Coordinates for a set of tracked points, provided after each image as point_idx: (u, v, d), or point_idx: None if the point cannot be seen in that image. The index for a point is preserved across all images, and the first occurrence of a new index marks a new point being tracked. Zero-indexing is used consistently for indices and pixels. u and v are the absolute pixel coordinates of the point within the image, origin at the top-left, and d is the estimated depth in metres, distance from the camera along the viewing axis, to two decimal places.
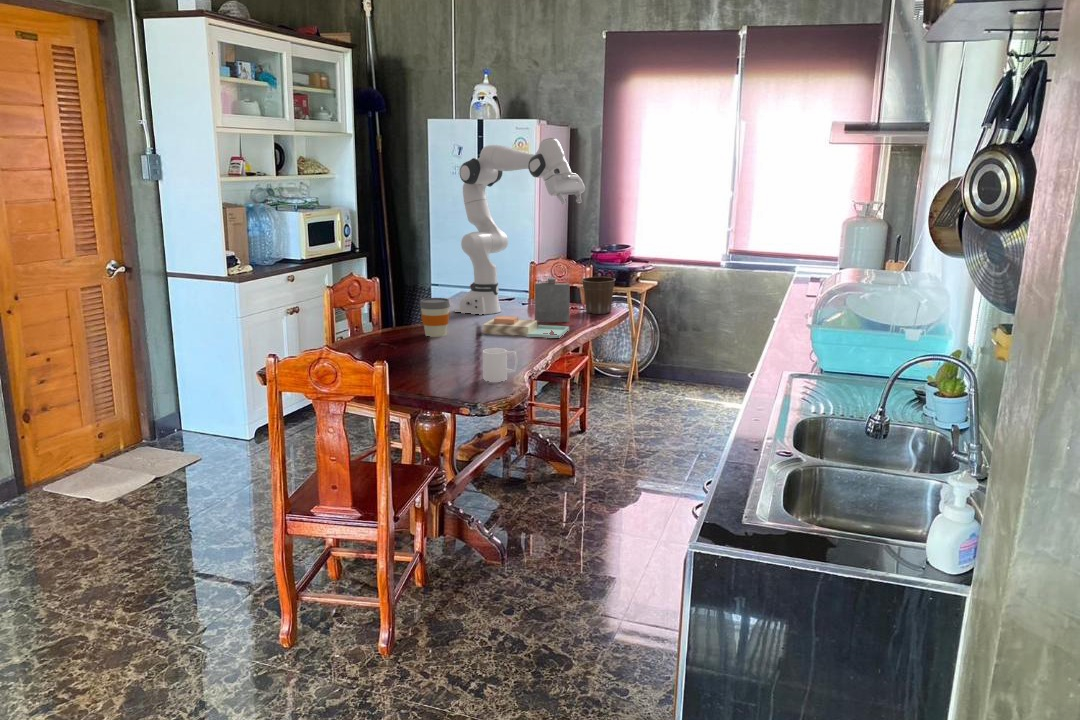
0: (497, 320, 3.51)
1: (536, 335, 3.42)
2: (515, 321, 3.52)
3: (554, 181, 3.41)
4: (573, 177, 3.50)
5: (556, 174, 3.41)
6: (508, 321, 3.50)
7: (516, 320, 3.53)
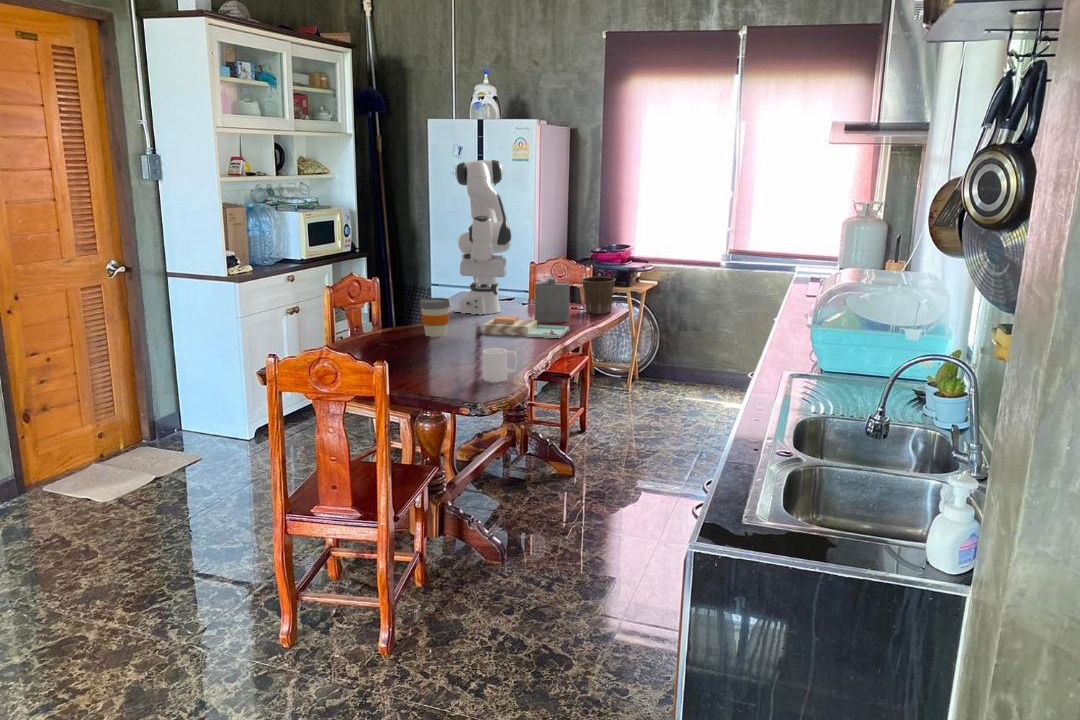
0: (497, 320, 3.51)
1: (536, 335, 3.42)
2: (515, 321, 3.52)
3: (464, 264, 3.50)
4: (492, 262, 3.47)
5: (466, 259, 3.48)
6: (508, 321, 3.50)
7: (516, 320, 3.53)
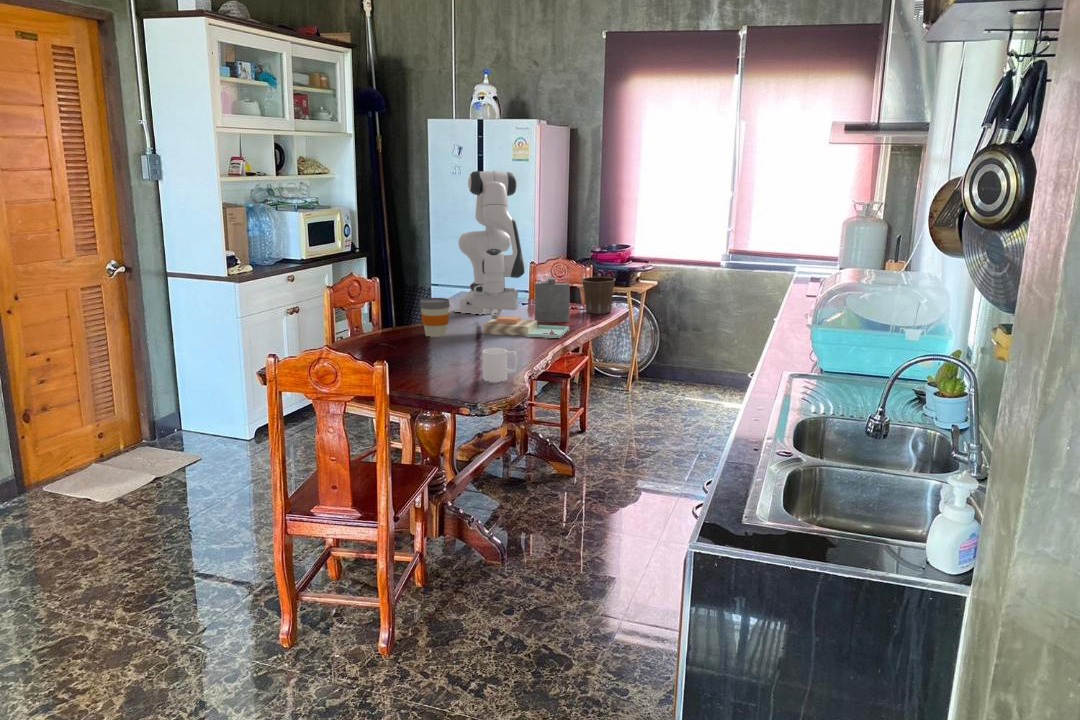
0: (500, 320, 3.51)
1: (536, 335, 3.42)
2: (518, 321, 3.51)
3: (476, 297, 3.52)
4: (504, 295, 3.49)
5: (478, 292, 3.51)
6: (511, 321, 3.50)
7: (519, 320, 3.53)
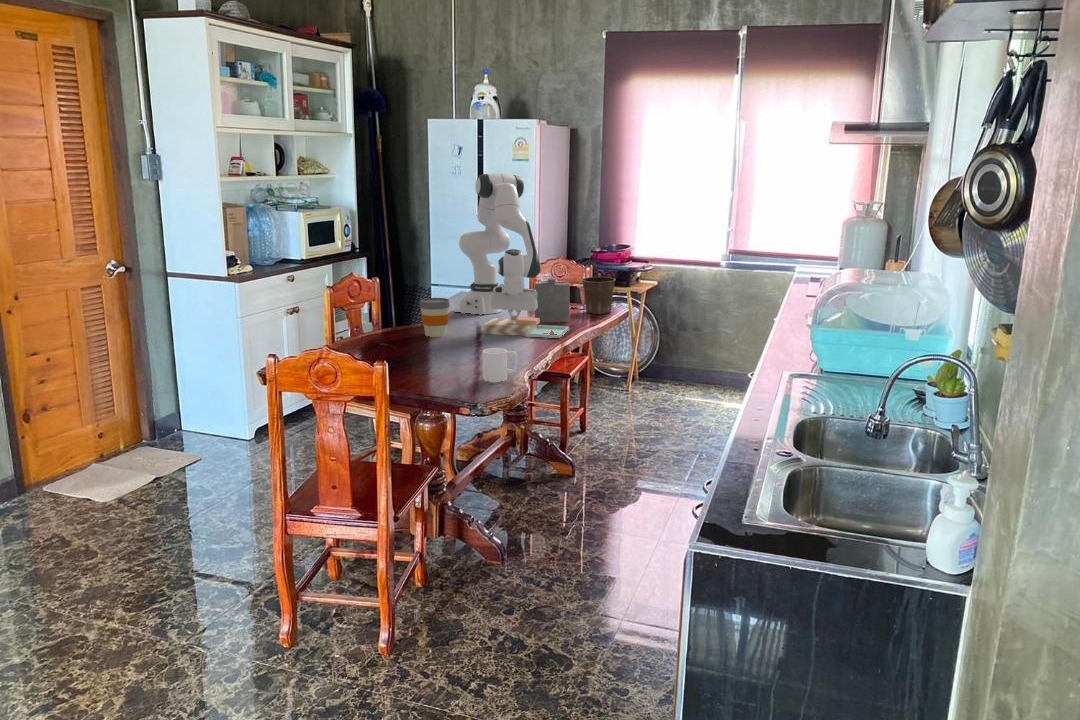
0: (519, 321, 3.49)
1: (536, 335, 3.42)
2: (537, 322, 3.49)
3: (495, 297, 3.50)
4: (523, 296, 3.47)
5: (497, 292, 3.48)
6: (530, 322, 3.47)
7: (538, 321, 3.50)
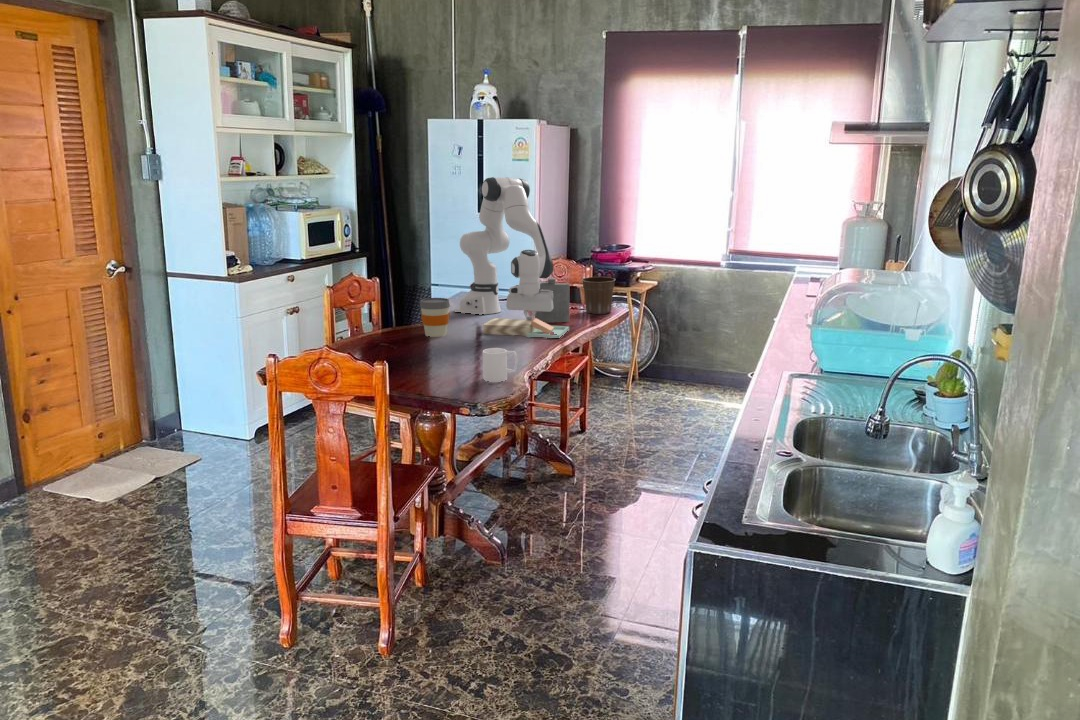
0: (534, 324, 3.47)
1: (536, 335, 3.42)
2: (550, 331, 3.48)
3: (511, 298, 3.48)
4: (539, 296, 3.45)
5: (513, 293, 3.46)
6: (545, 329, 3.46)
7: (552, 330, 3.49)
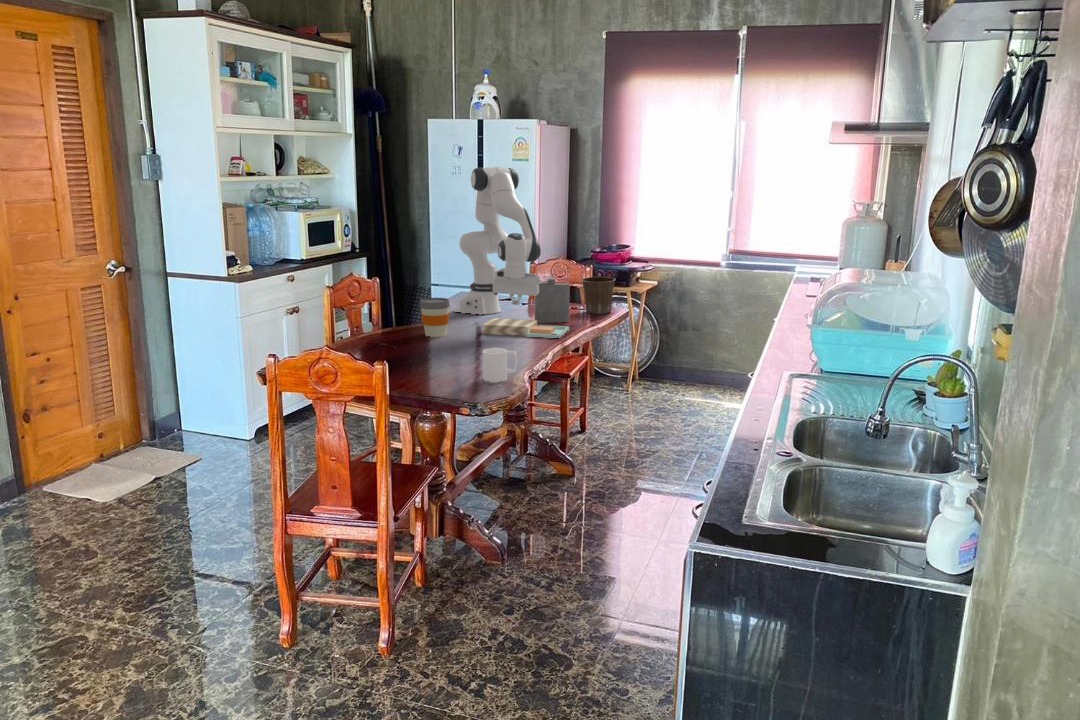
0: (534, 330, 3.48)
1: (536, 335, 3.42)
2: (552, 331, 3.48)
3: (497, 281, 3.48)
4: (525, 280, 3.45)
5: (499, 276, 3.47)
6: (546, 331, 3.46)
7: (553, 330, 3.49)
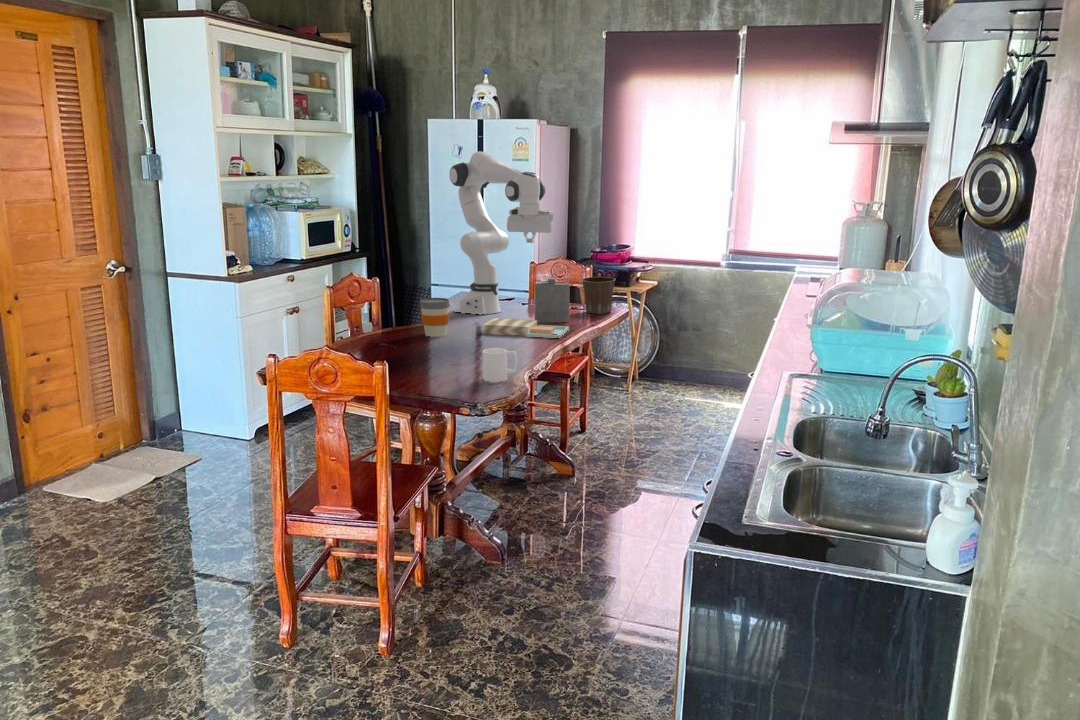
0: (534, 330, 3.48)
1: (536, 335, 3.42)
2: (552, 331, 3.48)
3: (511, 220, 3.54)
4: (539, 217, 3.51)
5: (513, 215, 3.53)
6: (546, 331, 3.46)
7: (553, 330, 3.49)
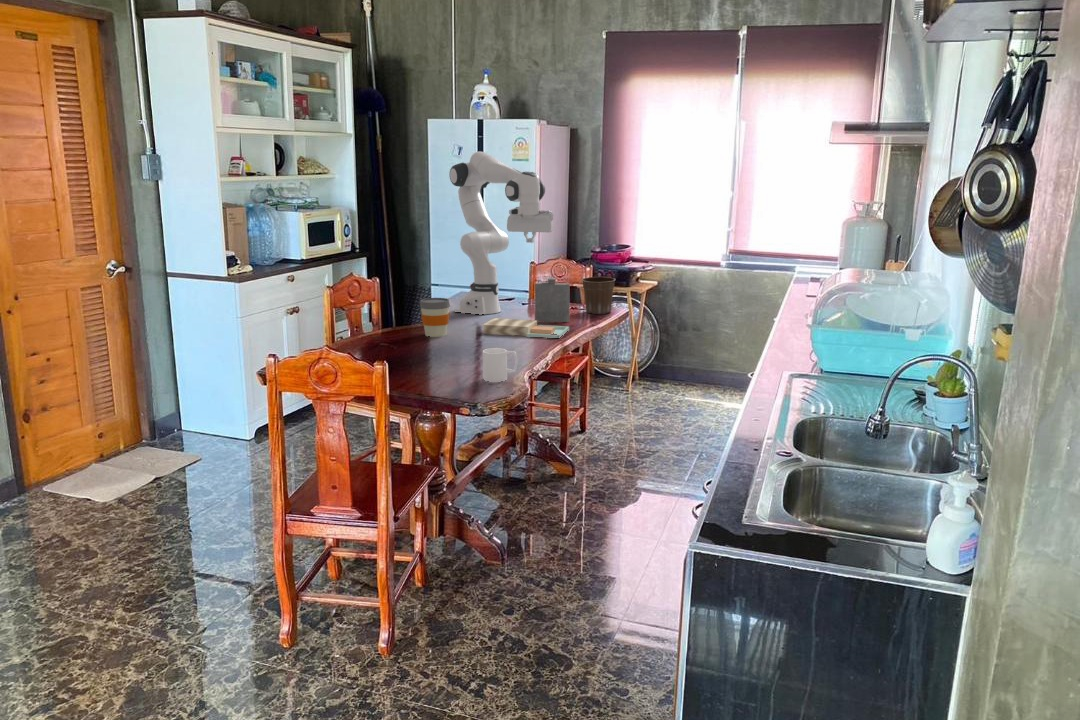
0: (534, 330, 3.48)
1: (536, 335, 3.42)
2: (552, 331, 3.48)
3: (511, 220, 3.54)
4: (539, 217, 3.51)
5: (513, 214, 3.53)
6: (546, 331, 3.46)
7: (553, 330, 3.49)
